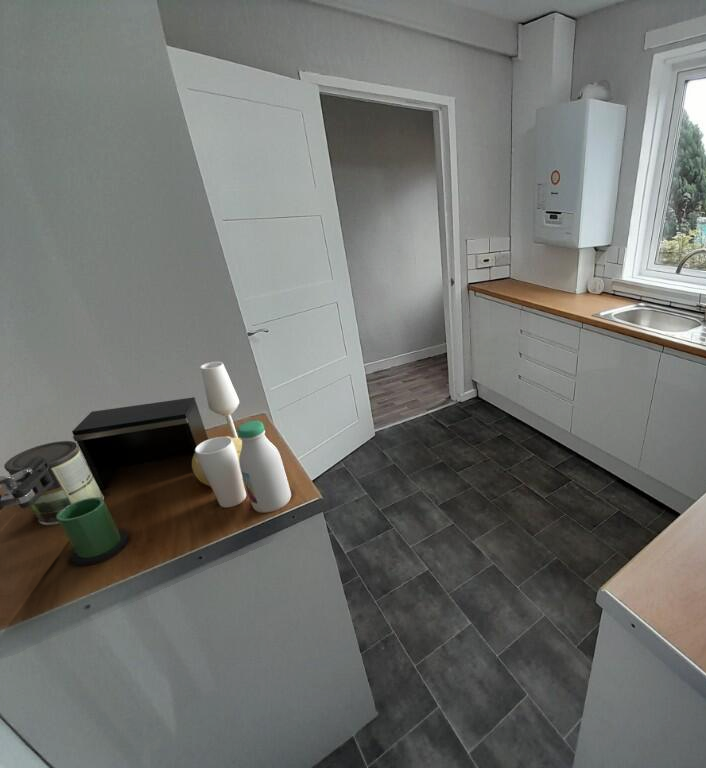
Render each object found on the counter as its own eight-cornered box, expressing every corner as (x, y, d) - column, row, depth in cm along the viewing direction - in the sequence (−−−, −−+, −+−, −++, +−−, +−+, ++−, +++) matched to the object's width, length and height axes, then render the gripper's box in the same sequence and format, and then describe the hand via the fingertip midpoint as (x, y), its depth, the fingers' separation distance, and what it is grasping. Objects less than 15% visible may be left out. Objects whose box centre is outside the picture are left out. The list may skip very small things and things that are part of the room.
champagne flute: (256, 443, 114) (233, 363, 103) (231, 455, 108) (203, 372, 98) (243, 436, 117) (219, 358, 106) (218, 447, 111) (190, 366, 101)
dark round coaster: (64, 571, 74) (61, 567, 73) (83, 541, 80) (81, 537, 80) (120, 557, 77) (118, 553, 77) (134, 529, 84) (133, 525, 83)
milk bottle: (296, 488, 96) (276, 415, 87) (285, 511, 89) (263, 434, 80) (260, 492, 95) (237, 417, 86) (247, 515, 88) (220, 437, 79)
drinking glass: (208, 506, 90) (186, 449, 84) (237, 487, 96) (218, 433, 90) (229, 514, 88) (208, 457, 82) (257, 495, 94) (240, 440, 87)
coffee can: (44, 533, 82) (9, 477, 76) (33, 512, 87) (-1, 457, 81) (111, 504, 90) (83, 451, 84) (97, 486, 95) (70, 435, 89)
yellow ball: (216, 500, 92) (202, 461, 88) (189, 482, 98) (174, 444, 93) (266, 473, 101) (255, 436, 97) (238, 458, 107) (227, 422, 102)
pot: (70, 562, 74) (49, 524, 71) (85, 539, 80) (66, 502, 76) (114, 551, 77) (95, 514, 73) (126, 529, 82) (109, 494, 78)
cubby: (99, 492, 94) (70, 432, 87) (116, 468, 102) (91, 411, 96) (204, 471, 102) (184, 415, 95) (211, 450, 110) (194, 397, 104)
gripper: (-14, 503, 47) (56, 436, 60) (-212, 541, 41) (-87, 458, 55) (17, 551, 50) (77, 477, 63) (-164, 593, 44) (-57, 502, 58)
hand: (1, 468), depth 59 cm, fingers open, 8 cm apart
